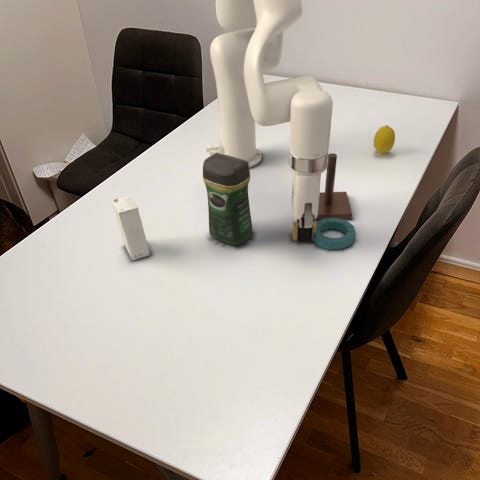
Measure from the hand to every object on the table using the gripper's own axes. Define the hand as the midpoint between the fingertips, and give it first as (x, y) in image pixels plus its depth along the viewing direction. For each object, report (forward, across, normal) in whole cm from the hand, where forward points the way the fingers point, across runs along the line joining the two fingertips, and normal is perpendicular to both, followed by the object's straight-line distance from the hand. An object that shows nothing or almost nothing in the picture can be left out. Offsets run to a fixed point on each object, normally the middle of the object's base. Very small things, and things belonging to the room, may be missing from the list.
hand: (303, 236), depth 105 cm
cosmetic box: (+1, +3, -37) cm, 38 cm away
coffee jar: (+1, -2, -16) cm, 17 cm away
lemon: (+1, -39, +25) cm, 46 cm away
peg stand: (0, -12, +6) cm, 14 cm away
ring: (0, 0, +4) cm, 4 cm away
